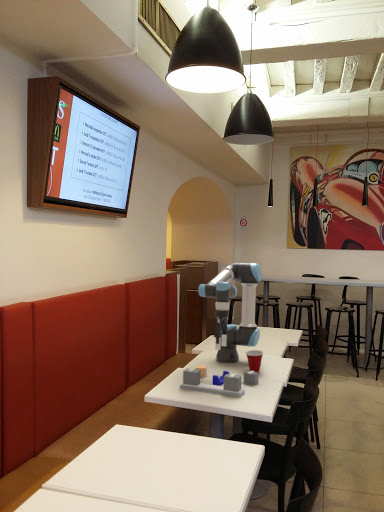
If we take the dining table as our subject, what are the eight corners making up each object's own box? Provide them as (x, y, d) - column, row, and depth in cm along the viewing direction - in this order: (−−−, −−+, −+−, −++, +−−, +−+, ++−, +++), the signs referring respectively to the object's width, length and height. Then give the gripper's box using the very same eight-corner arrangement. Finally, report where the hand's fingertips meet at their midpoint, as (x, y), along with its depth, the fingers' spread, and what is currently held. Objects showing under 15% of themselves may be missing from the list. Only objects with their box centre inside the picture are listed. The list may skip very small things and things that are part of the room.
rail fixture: (185, 384, 250) (185, 367, 249) (244, 393, 236) (244, 374, 235) (179, 388, 244) (180, 370, 243) (240, 397, 230) (240, 378, 229)
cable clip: (222, 380, 258) (222, 370, 258) (229, 382, 255) (229, 371, 255) (210, 385, 249) (210, 374, 248) (217, 387, 246) (217, 376, 246)
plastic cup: (241, 370, 279) (242, 350, 278) (256, 368, 283) (257, 349, 283) (251, 375, 269) (251, 354, 268) (266, 372, 273) (267, 353, 273)
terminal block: (196, 374, 270) (196, 365, 270) (206, 374, 269) (206, 366, 269) (195, 376, 266) (195, 367, 265) (205, 377, 265) (205, 368, 264)
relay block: (247, 381, 257) (247, 370, 257) (258, 383, 253) (258, 372, 253) (243, 383, 253) (243, 371, 253) (254, 385, 249) (255, 374, 249)
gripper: (221, 307, 268) (219, 344, 267) (209, 310, 244) (208, 350, 243) (233, 308, 265) (232, 345, 264) (223, 311, 242) (221, 351, 241)
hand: (220, 347), depth 254 cm, fingers open, 13 cm apart
